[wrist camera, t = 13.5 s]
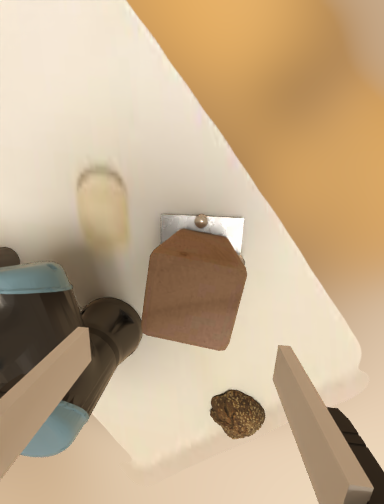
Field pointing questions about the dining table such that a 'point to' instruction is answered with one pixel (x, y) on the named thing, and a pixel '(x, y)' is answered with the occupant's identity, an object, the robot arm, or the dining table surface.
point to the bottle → (8, 257)
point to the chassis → (205, 227)
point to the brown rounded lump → (237, 414)
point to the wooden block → (193, 290)
